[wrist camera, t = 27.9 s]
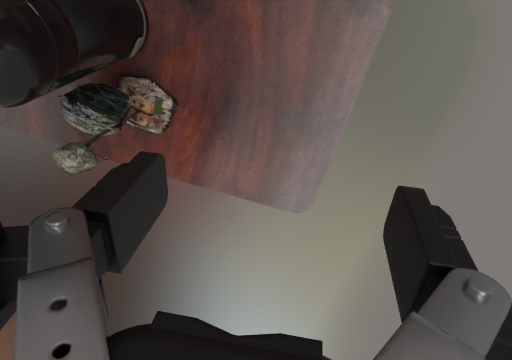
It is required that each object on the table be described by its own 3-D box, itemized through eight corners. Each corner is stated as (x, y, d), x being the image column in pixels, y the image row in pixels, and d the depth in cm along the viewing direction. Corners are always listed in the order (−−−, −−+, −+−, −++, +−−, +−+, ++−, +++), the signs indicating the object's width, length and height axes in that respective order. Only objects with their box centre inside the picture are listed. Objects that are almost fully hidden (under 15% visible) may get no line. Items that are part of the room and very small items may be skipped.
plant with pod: (116, 47, 44) (-11, 94, 27) (186, 105, 47) (110, 182, 30) (90, 92, 48) (-35, 158, 31) (157, 144, 51) (74, 231, 34)
